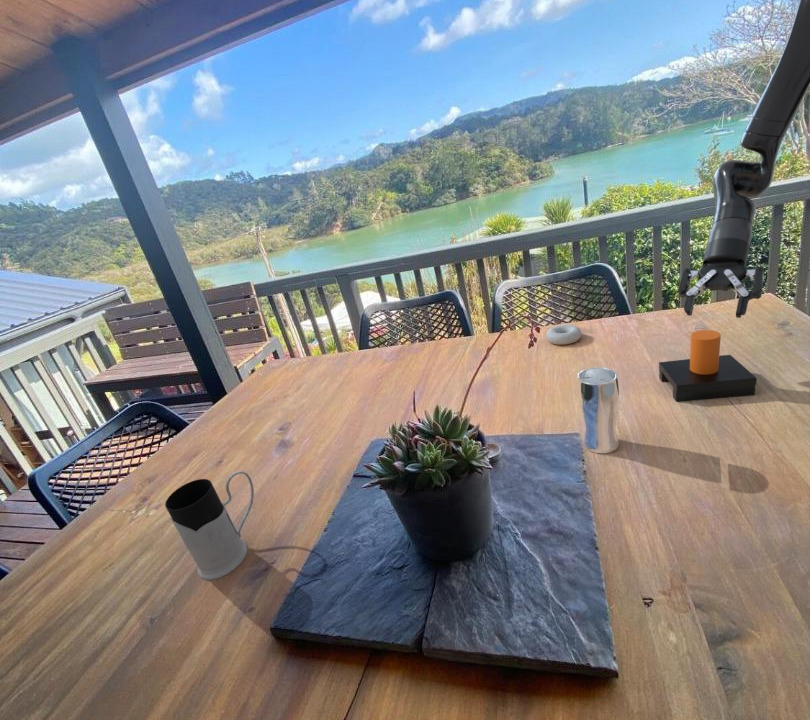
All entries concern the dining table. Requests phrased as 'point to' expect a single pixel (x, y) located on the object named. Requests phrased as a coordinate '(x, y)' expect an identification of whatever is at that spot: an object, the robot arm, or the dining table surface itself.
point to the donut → (563, 334)
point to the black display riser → (708, 380)
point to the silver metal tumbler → (599, 408)
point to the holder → (208, 527)
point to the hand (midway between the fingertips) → (712, 315)
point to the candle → (705, 352)
